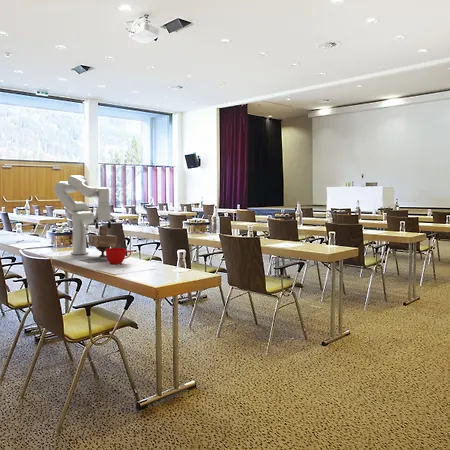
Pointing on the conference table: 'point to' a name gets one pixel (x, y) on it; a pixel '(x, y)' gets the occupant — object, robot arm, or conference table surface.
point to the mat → (94, 260)
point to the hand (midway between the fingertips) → (103, 228)
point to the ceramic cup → (116, 255)
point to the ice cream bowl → (102, 250)
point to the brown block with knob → (102, 239)
